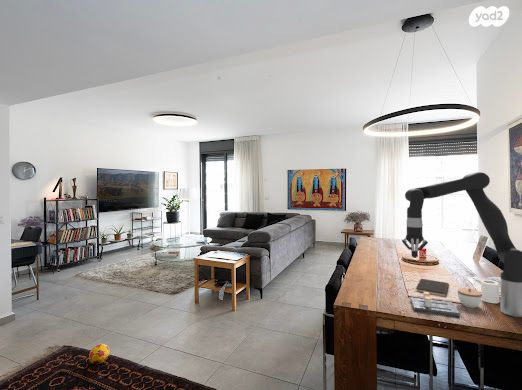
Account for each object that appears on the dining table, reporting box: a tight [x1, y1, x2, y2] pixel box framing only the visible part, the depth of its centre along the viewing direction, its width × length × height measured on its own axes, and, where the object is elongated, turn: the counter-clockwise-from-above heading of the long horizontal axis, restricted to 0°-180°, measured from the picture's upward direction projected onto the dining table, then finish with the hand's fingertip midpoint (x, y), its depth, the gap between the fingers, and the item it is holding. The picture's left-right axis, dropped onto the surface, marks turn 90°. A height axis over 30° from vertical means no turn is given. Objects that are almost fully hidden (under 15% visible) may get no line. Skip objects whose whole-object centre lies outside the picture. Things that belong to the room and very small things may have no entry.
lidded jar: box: [457, 287, 483, 309], centre depth 150 cm, size 11×11×9 cm
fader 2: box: [425, 296, 432, 307], centre depth 145 cm, size 2×3×4 cm
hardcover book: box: [415, 278, 450, 298], centre depth 177 cm, size 16×23×2 cm
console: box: [410, 297, 461, 318], centre depth 147 cm, size 20×14×2 cm
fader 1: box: [422, 292, 431, 302], centre depth 151 cm, size 2×3×4 cm
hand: (414, 257), depth 149 cm, fingers closed
